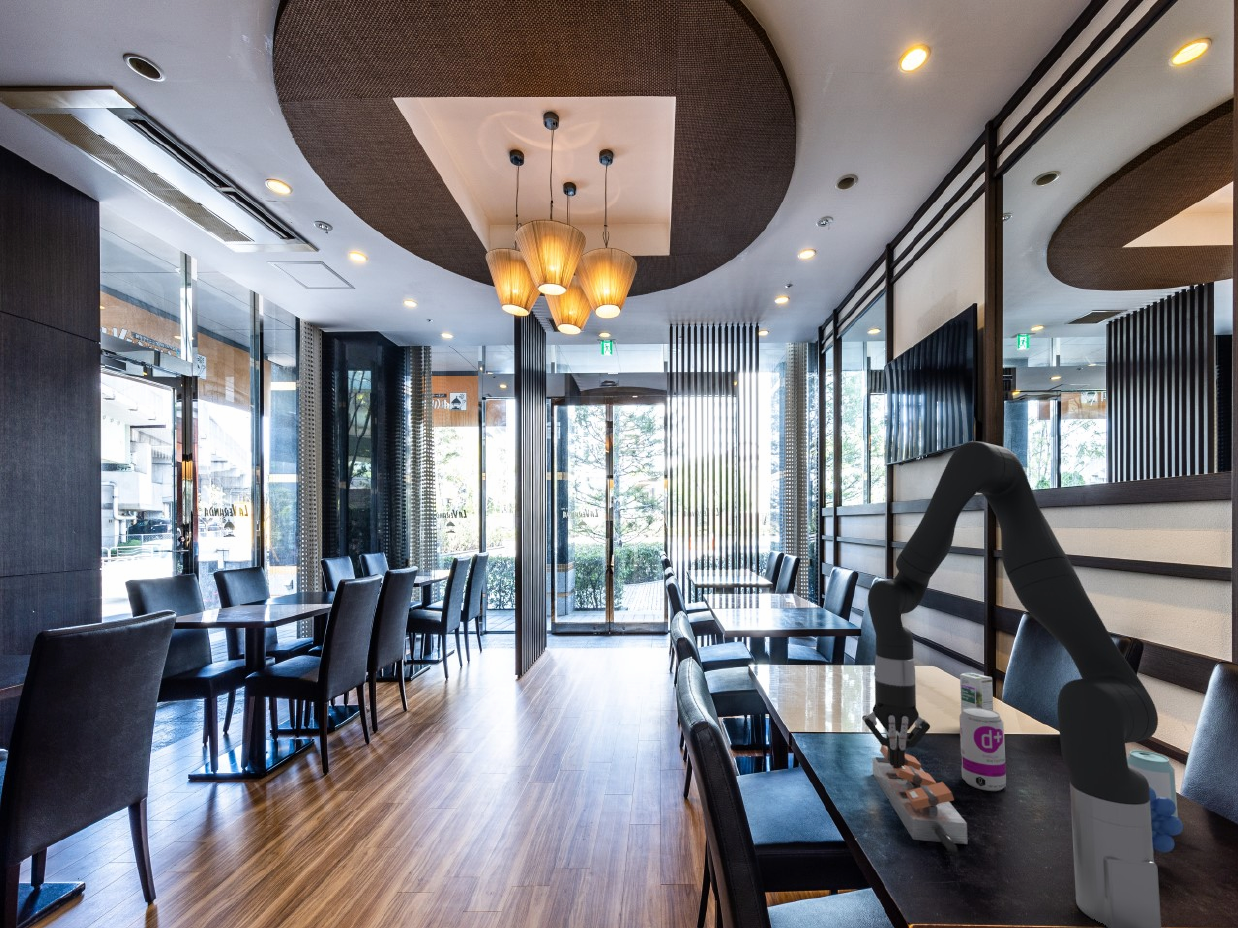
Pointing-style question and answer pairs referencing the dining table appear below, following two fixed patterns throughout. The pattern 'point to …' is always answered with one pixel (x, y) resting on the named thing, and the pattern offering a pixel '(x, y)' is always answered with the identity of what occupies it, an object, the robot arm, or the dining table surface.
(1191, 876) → the dining table surface
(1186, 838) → the dining table surface
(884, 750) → the rocker
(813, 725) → the dining table surface
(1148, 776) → the can
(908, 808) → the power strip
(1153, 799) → the grapes
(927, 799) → the block
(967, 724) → the supplement can
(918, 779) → the rocker
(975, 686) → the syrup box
